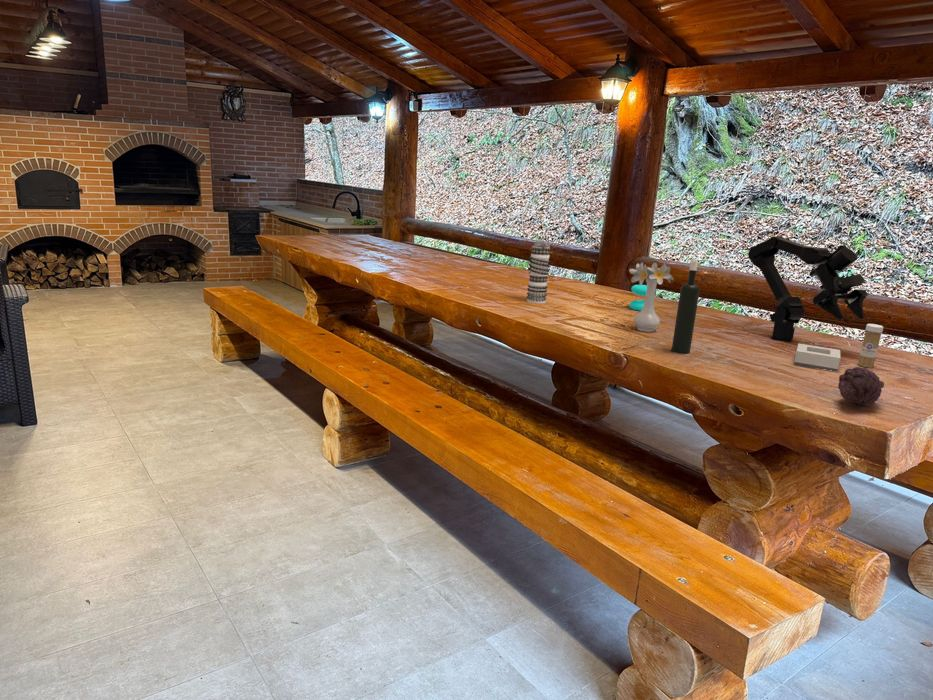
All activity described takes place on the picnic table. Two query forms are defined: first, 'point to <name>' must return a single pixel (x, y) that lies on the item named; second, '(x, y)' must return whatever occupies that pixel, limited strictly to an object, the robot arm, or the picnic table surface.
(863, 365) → the sprinkles bottle
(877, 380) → the pine cone
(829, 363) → the socket block
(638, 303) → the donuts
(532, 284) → the decorative candle
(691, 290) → the wine bottle
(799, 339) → the picnic table surface
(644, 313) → the flower vase
